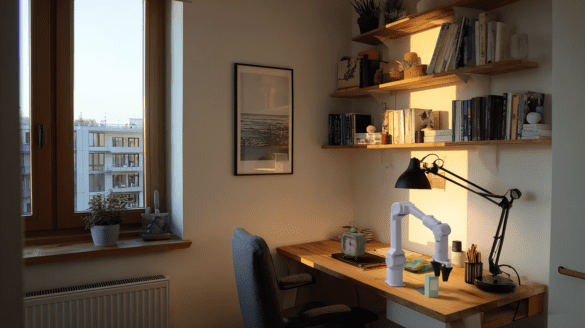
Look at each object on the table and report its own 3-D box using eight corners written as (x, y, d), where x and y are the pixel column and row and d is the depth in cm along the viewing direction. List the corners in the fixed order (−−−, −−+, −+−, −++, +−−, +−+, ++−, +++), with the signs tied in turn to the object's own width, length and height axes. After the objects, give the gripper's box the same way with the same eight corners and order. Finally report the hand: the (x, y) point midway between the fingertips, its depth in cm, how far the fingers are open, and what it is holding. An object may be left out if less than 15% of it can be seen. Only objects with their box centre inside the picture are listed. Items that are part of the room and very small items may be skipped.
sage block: (424, 294, 202) (424, 274, 202) (434, 294, 203) (434, 273, 203) (428, 297, 198) (429, 276, 197) (438, 297, 199) (439, 276, 198)
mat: (412, 287, 212) (412, 287, 212) (425, 287, 213) (425, 286, 213) (422, 294, 202) (422, 293, 202) (435, 293, 203) (435, 293, 203)
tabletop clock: (340, 258, 270) (341, 220, 269) (350, 256, 276) (351, 218, 275) (356, 263, 259) (357, 223, 258) (366, 261, 264) (367, 221, 263)
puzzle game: (436, 261, 247) (413, 266, 236) (436, 269, 247) (413, 274, 236) (420, 257, 257) (398, 261, 246) (420, 265, 257) (398, 269, 246)
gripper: (457, 253, 186) (457, 283, 186) (442, 246, 200) (441, 274, 201) (442, 253, 185) (442, 283, 185) (428, 246, 199) (427, 274, 200)
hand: (441, 278), depth 193 cm, fingers open, 7 cm apart
